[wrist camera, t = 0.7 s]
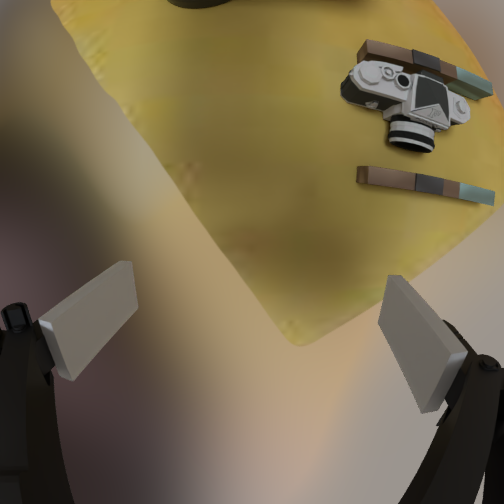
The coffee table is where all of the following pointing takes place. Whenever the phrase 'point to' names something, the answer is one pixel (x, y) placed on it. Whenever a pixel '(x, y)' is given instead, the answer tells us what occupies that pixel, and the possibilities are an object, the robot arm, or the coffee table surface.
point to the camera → (405, 102)
